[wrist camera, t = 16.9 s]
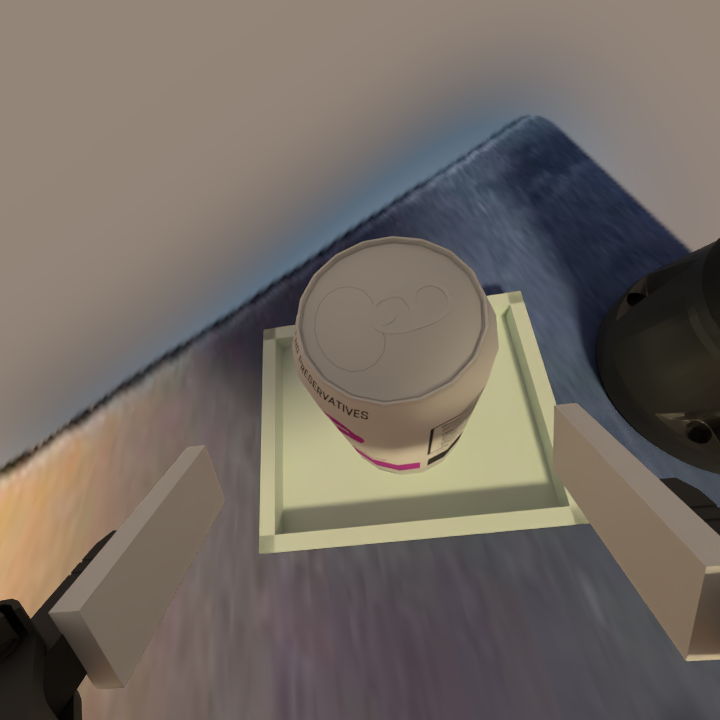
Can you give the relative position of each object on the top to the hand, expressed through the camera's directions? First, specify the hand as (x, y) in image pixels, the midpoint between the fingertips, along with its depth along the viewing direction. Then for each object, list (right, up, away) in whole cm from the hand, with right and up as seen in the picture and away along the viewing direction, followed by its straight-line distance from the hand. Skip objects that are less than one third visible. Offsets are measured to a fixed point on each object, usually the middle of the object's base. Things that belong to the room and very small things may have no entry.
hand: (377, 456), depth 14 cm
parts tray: (+3, -1, +14) cm, 14 cm away
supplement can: (+3, -1, +13) cm, 14 cm away
